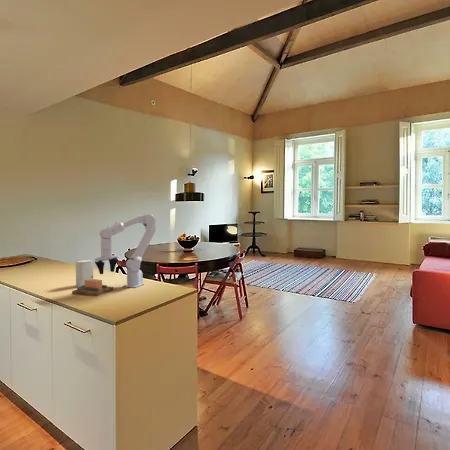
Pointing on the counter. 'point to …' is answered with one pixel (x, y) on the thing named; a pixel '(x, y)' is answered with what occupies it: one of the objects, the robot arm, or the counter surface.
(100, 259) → the robot arm
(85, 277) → the skincare box
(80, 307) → the counter surface
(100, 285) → the terracotta cardboard box
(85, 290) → the display stand
